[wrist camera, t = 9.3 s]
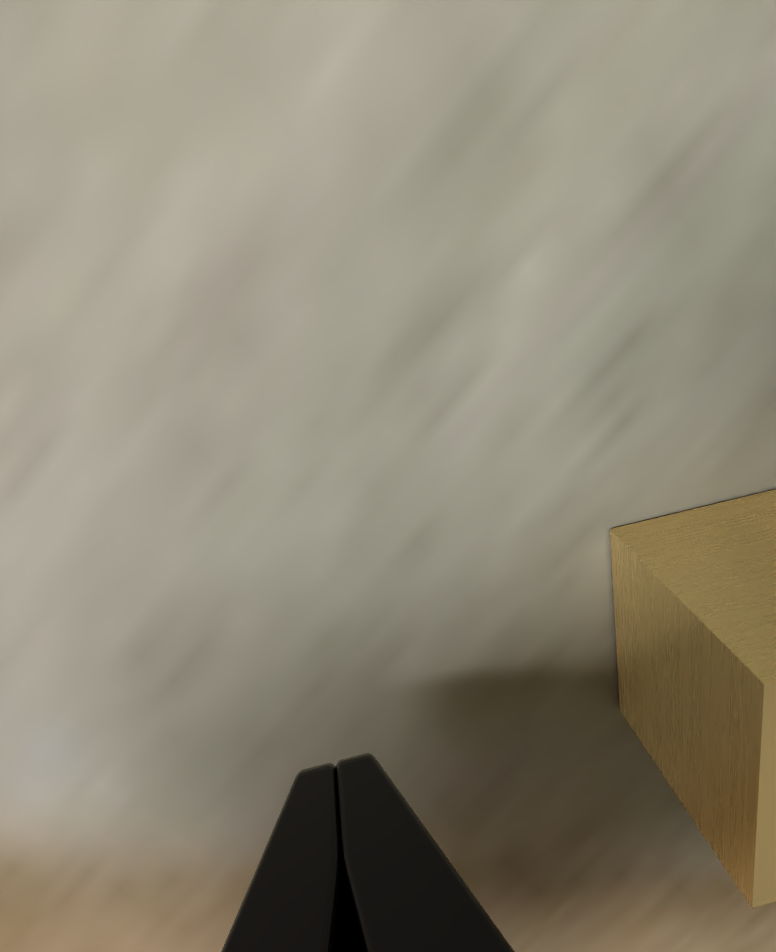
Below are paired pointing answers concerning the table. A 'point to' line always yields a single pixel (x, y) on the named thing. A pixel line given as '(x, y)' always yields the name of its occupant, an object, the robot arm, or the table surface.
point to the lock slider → (706, 670)
